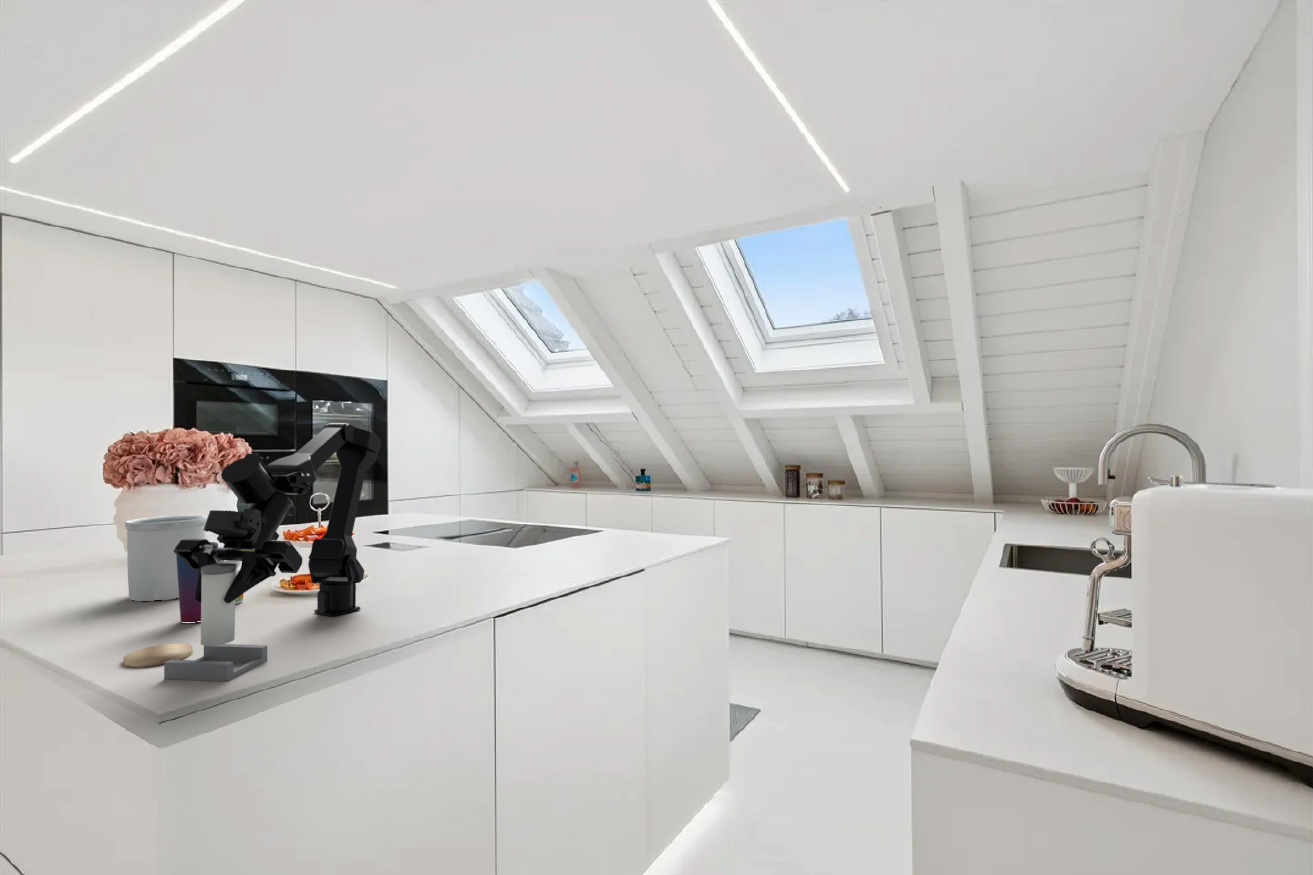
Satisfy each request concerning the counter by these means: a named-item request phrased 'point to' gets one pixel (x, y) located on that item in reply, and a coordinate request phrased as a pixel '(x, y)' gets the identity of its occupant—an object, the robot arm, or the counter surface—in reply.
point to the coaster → (157, 655)
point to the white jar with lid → (217, 604)
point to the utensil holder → (158, 554)
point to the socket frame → (217, 663)
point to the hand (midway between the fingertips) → (211, 601)
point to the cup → (188, 591)
